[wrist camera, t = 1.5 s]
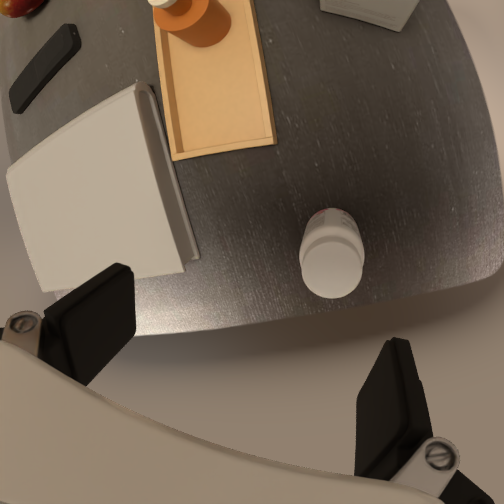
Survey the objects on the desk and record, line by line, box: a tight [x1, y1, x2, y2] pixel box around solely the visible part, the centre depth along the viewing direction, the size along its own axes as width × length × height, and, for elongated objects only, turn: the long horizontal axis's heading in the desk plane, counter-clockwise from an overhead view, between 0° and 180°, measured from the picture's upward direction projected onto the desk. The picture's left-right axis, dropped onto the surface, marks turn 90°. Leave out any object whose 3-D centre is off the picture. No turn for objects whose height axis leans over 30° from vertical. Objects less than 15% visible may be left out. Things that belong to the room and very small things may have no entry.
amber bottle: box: [148, 0, 231, 47], centre depth 19 cm, size 5×5×8 cm
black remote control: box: [9, 24, 81, 114], centre depth 27 cm, size 5×2×15 cm
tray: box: [153, 0, 278, 161], centre depth 22 cm, size 25×9×2 cm, turn 9°
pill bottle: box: [299, 208, 364, 298], centre depth 23 cm, size 5×5×8 cm
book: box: [6, 82, 200, 292], centre depth 30 cm, size 18×4×24 cm
